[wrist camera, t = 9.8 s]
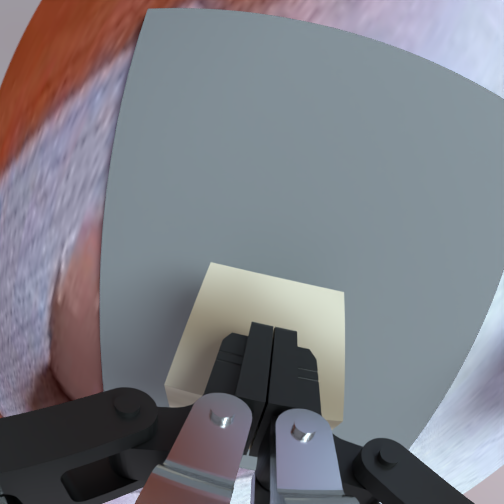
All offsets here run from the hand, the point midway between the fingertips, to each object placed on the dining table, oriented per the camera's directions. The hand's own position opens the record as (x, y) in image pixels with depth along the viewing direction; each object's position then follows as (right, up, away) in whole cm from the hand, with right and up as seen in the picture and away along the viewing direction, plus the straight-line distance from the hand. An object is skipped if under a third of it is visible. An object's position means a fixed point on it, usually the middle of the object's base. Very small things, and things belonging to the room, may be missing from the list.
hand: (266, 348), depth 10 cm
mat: (+2, 0, +7) cm, 8 cm away
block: (0, 0, +1) cm, 1 cm away
